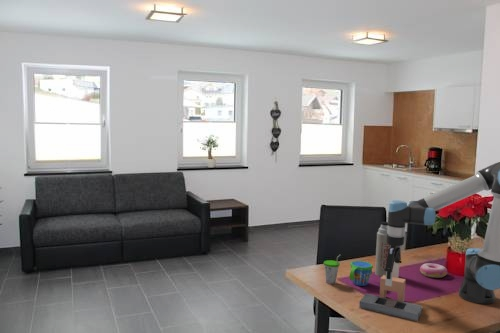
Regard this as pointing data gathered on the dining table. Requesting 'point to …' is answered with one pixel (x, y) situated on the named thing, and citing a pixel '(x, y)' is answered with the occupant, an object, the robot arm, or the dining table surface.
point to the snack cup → (360, 272)
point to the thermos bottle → (381, 250)
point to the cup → (331, 270)
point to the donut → (433, 270)
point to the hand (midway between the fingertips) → (391, 281)
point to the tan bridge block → (393, 287)
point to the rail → (391, 307)
